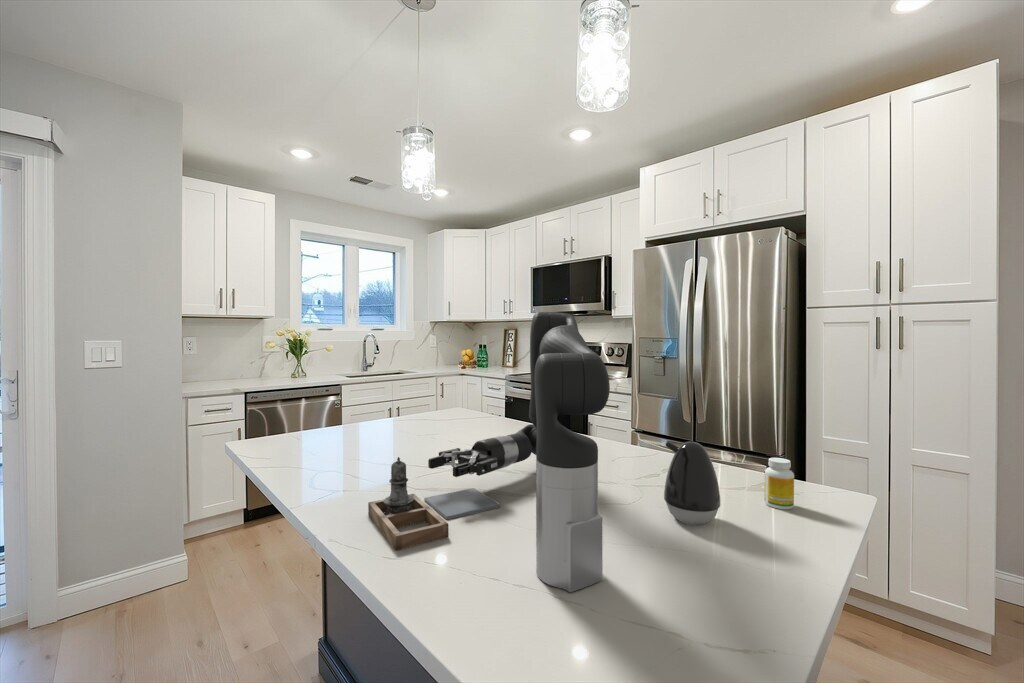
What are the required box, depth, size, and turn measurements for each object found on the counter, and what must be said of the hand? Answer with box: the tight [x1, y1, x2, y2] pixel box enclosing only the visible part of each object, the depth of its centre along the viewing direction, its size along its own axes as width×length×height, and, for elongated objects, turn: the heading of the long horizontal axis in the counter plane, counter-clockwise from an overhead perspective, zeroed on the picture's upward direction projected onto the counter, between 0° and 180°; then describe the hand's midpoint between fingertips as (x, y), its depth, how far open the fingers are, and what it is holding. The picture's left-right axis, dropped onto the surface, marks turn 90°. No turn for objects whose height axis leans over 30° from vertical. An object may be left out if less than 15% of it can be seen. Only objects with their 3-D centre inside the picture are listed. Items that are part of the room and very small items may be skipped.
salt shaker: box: [383, 456, 414, 515], centre depth 90 cm, size 6×6×12 cm
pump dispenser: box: [663, 441, 721, 526], centre depth 89 cm, size 10×10×15 cm
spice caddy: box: [367, 493, 449, 551], centre depth 86 cm, size 18×10×2 cm, turn 32°
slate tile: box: [423, 487, 501, 521], centre depth 97 cm, size 12×12×1 cm
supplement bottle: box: [763, 457, 795, 511], centre depth 96 cm, size 5×5×10 cm
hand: (441, 467), depth 98 cm, fingers open, 8 cm apart
